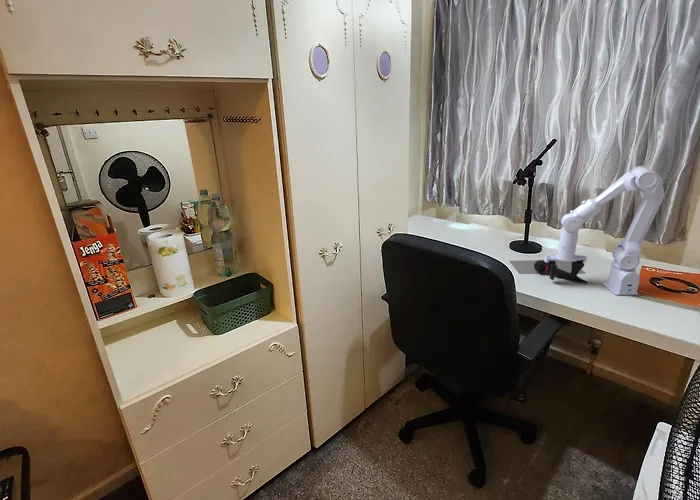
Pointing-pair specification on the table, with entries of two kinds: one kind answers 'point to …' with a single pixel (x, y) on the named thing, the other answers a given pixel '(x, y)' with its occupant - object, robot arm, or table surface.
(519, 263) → the charcoal mat
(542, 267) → the microphone
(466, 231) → the table surface
